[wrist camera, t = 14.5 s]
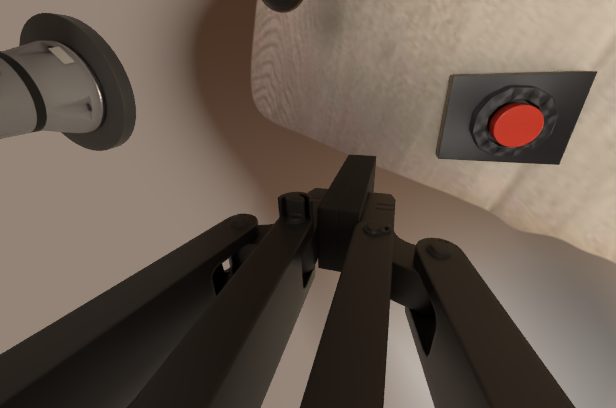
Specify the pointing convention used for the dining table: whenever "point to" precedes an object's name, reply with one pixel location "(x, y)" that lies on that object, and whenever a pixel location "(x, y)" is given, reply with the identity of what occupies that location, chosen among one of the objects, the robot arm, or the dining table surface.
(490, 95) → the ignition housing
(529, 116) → the button
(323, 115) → the dining table surface
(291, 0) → the lever
